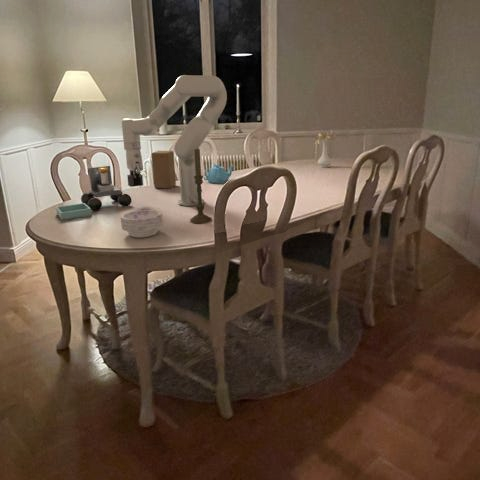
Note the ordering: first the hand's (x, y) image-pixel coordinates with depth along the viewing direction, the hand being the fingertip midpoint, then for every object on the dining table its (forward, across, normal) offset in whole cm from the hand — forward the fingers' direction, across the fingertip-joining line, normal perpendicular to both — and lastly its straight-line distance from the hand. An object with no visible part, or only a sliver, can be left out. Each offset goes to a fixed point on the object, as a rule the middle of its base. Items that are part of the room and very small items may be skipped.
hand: (135, 184), depth 204 cm
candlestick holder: (+9, -44, -12) cm, 47 cm away
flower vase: (+8, +22, -141) cm, 143 cm away
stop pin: (+2, +5, +13) cm, 14 cm away
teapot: (+9, +24, -59) cm, 64 cm away
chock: (0, 0, 0) cm, 0 cm away
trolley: (+10, +6, +13) cm, 18 cm away
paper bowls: (+10, -48, +14) cm, 50 cm away
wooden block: (+10, +30, -27) cm, 42 cm away
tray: (+10, -2, +30) cm, 32 cm away
